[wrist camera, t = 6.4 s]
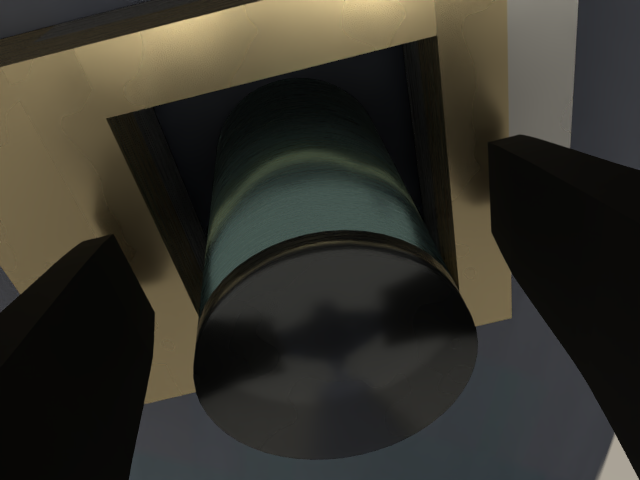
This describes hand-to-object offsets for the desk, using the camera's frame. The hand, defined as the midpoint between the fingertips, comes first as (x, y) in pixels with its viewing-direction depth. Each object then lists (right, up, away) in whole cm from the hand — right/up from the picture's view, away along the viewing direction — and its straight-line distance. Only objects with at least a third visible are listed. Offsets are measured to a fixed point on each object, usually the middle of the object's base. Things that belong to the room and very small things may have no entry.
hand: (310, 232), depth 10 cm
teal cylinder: (0, +2, +3) cm, 4 cm away
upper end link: (0, +2, +3) cm, 3 cm away
